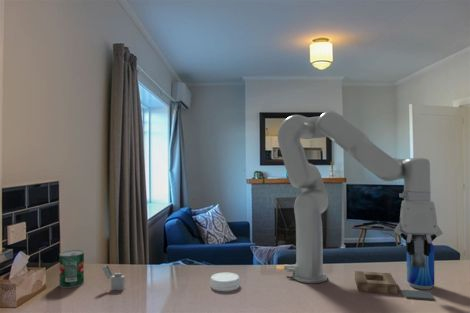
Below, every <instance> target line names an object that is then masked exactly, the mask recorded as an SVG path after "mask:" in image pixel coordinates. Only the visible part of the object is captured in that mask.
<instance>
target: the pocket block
mask: <svg viewBox="0 0 470 313" xmlns="http://www.w3.org/2000/svg"><path fill="white" fill-rule="evenodd" d="M354 282H355V285H356V288H357V291H358V292H363V293H365V292H366V293H377V294H378V293H379V294H388V295H389V294H390V295H398V284H397V281H396V280H395V278H394V277H393V275H392V273H391V272H390V273H389V272H374V271H360V270H354Z"/></svg>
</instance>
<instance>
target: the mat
mask: <svg viewBox="0 0 470 313" xmlns="http://www.w3.org/2000/svg"><path fill="white" fill-rule="evenodd" d="M401 292H402V293H403V295H404V296H405V298H406V299H408V300H409V299H413V300H422V301H423V300H424V301H436V300H435V299H436V298H435V297H434V296H433V295H432V293H431V292H430V291H427V290H426V291H425V290H413V289H401Z"/></svg>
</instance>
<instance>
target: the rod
mask: <svg viewBox="0 0 470 313" xmlns="http://www.w3.org/2000/svg"><path fill="white" fill-rule="evenodd" d="M411 242H412V243H413V255H411V265H412V266H413V267H417V268H425V267H426V260H425V234H412V237H411Z"/></svg>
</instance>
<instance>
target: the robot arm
mask: <svg viewBox="0 0 470 313" xmlns="http://www.w3.org/2000/svg"><path fill="white" fill-rule="evenodd" d="M322 138H323V139H325V138H328V139H329V140H331V141H333V143H335V144H336V145H337V146H339V147H340V148H341V149H343V150H344V151H345V152H346V153H347V154H349V155H350V156H351V157H353V159H354V160H356V161H357V162H358V163H360V165H361V166H363V167H364V168H366V169H367V170H368V171H369V172H371V173H372V174H373V175H374V176H376V177H377V178H379V179H380V180H381V181H384V182H389V183H390V182H394V181H398V180H403V191H402V193H400V192H399V194H398V195H399V198H402V199H403V200H401V204H400V213H399V215H400V216H399V223H398V224H397V225H396V226H395V228H394V233H395V234H397V235H398V236H400V237H401V238H402V239H404V240H405V247H406V248H405V251H406V253H407V252H408V254H409V255H413V243H412V242H411V237H412V234H425V255H426V256H429V253H430V252H431V251H430V243H432V242H434V240H436V238H438V237H440V236H442V235H443V231H442V230H441V229H440V227H439V225H438V219H437V211H436V206H435V201H432V200H431V197H432V196H431V193H432V192H431V162H430V160H429V159H428V158H424V157H423V158H422V157H418V158H417V157H414V158H413V157H412V158H398V157H397V158H395V157H392V156H391V155H389V154H388V153H387V152H385V151H384V150H382V149H381V148H380V147H378V146H377V145H376V144H375V143H373V142H372V141H371V140H370V138H369V136H368V135H367V134H366V133H364V132H363V131H362V130H360V129H359V128H358V127H356V126H355V125H353V124H352V123H351V122H349V121H348V120H346V118H345V117H344V116H343V115H342V114H340V113H338V112H335V111H330V110H327V111H325V112H323V113H322V114H320V116H319V115H318V116H311V117H309V116H304V115H301V114H292V115H290V116H288V117H287V118H285V119H284V120H282V122H281V124H280V126H279V128H278V131H277V143H278V147H279V150H280V154H281V156H282V157H281V158H282V160H283V165H284V167H285V172H286V174H287V177H288V180H289V183H290V185H291V186H292V187H293V188H295V189H300V191H301V193H300V194H299V195H298V196H297V197H296V198H295V201H294V204H293V212H294V218H295V245H296V246H295V247H296V248H295V249H296V250H295V254H296V255H295V258H296V259H295V261H296V262H295V264H292V265H290V264H283V265H284V268H283V269H284V271H286V272H292V273H291V278H292V279H294V280H295V281H297V282H301V283H306V284H318V283H319V284H320V283H324V282H326V281H327V280H328V275H327V273H325V272H324V266H323V265H324V264H323V262H324V260H323V259H324V258H323V255H324V254H323V253H324V252H323V251H324V250H323V249H324V246H323V242H324V241H323V240H324V239H323V238H324V237H323V222H322V214H323V213H324V212H325V211H326V210H328V207H329V203H330V202H329V196H328V193H327V189H326V186H325V184H324V180H323V178H322V177H323V176H322V174H321V172H320V170H319V168H318V167H317V166H316V165H314V164H312V163H310V162H309V160H308V158H307V156H306V151H305V149H304V147H303V145H302V142H301V140H303V139H304V140H312V139H322ZM432 244H433V243H432Z"/></svg>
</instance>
